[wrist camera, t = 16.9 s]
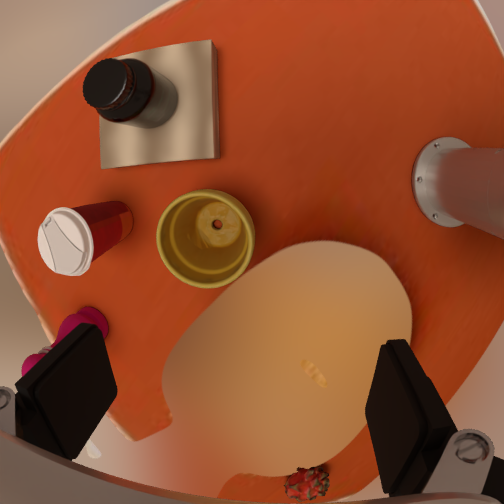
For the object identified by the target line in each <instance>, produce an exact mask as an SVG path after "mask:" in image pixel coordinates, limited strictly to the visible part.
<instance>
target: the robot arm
mask: <svg viewBox="0 0 504 504" xmlns="http://www.w3.org/2000/svg"><path fill="white" fill-rule="evenodd" d="M434 145H435V147H434ZM417 178H418V181H417ZM412 188H413V193H414V197H415V200H416V202H417V204H418V207H419V208H420V210H421V211H422V213H423V214H424V215H425V216H426V217H427V218H428V219H429V220H431V221H432V222H434V223H436V224H438V225H441V226H444V227H457V226H460V225H462V224H465V223H466V224H468V225H470V226H473V227H475V228H478V229H480V230H483V231H485V232H487V233H490V234H492V235H494V236H496V237H499V238H501V239H503V240H504V148H472V147H470V146H469V145H468V144H467V143H466V142H464V141H462V140H460V139H457V138H454V137H441V138H437V139H434V140H432V141H431V142H429V143H428V144H426V145H425V146H424V147H423V149H422V150H421V151H420V153H419V154H418V156H417V158H416V161H415V163H414V167H413V172H412ZM433 214H434V216H433ZM15 386H16V389H17V391H18V392H17V393H16V394H15V393H14V392H13V390H11V389H10V388H8V387H4V386H3V387H0V504H286V503H260V502H246V501H236V500H226V499H218V498H210V497H204V496H197V495H191V494H185V493H180V492H174V491H170V490H165V489H161V488H157V487H152V486H148V485H144V484H140V483H136V482H133V481H129V480H126V479H122V478H119V477H115V476H112V475H109V474H106V473H103V472H100V471H97V470H94V469H91V468H88V467H85V466H83V465H80V464H77V463H75V462H72V459H76V458H77V457H78V455H79V454H80V452H81V450H82V449H83V447H84V446H85V444H86V442H87V441H88V439H89V438H90V436H91V434H92V433H93V432H94V430H95V428H96V427H97V425H98V424H99V422H100V421H101V419H102V418H103V416H104V415H105V413H106V411H107V410H108V408H109V407H110V405H111V404H112V402H113V401H114V399H115V398H116V396H117V385H116V382H115V379H114V375H113V372H112V368H111V365H110V361H109V357H108V353H107V350H106V346H105V342H104V337H103V333H102V331H101V330H100V329H99V328H98V326H97V325H96V324H90V323H84V322H81V323H80V324H79V325H77V326H76V327H75V328H74V329H73V330H72V331H71V332H70V333H69V334H67V335H66V336H65V337H64V338H63V339H62V340H61V341H60V342H59V343H58V344H56V345H55V346H54V347H53V348H52V349H51V350H50V351H49V352H48V353H47V354H46V355H45V356H44V357H42V358H41V359H40V360H39V361H38V362H37V363H36V364H35V365H34V366H33V367H32V368H31V369H30V370H29V371H28V372H27V373H26V374H25V375H24V376H23V377H22V378H21V379H19V381H17V382H16V383H15ZM365 415H366V420H367V423H368V427H369V431H370V436H371V440H372V444H373V448H374V452H375V457H376V461H377V465H378V470H379V474H380V479H381V484H382V489H383V492H384V493H385V494H386V493H389V497H388V498H381V499H372V500H362V501H352V502H337V503H336V502H335V503H308V504H504V460H503V459H500V458H498V457H495V456H494V445H493V442H492V441H491V439H490V438H489V437H488V436H487V435H486V434H485V433H483V432H481V431H478V430H474V429H463V430H460V431H458V430H457V428H456V426H455V424H454V422H453V420H452V418H451V417H450V414H449V412H448V410H447V409H446V407H445V405H444V403H443V401H442V399H441V397H440V396H439V394H438V392H437V390H436V388H435V386H434V385H433V383H432V381H431V379H430V378H429V377H427V376H426V374H425V372H424V371H423V369H422V367H421V365H420V364H419V362H418V360H417V358H416V357H415V355H414V353H413V351H412V350H411V348H410V346H409V345H408V343H407V342H406V340H405V339H397V340H388V341H387V343H386V344H384V345H381V348H380V352H379V356H378V360H377V365H376V369H375V373H374V377H373V381H372V385H371V389H370V392H369V396H368V400H367V403H366V407H365Z"/></svg>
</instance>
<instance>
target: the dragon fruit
mask: <svg viewBox="0 0 504 504" xmlns="http://www.w3.org/2000/svg"><path fill="white" fill-rule="evenodd" d="M320 469H321V471H323V468H322V467H317V468H315V467H311V468H310V469H304V468H299V467H298V468H297V471H298V472H297V473H293V474H292V476H291V477H290V478H289V479H288V480H287V483H286V484H285V485H284V486H285V488H286V489H285V493H286V494H287V496H288V497H289V498H291V499H296V500H297V501H299V502H302V501H305V500H307V499H309V500H313V499H316V496H325V492H326V491H327V490H328V489H327V488H328V487H329V479H328V478H327V477H328V476H329V474H328V473H326V472H320Z"/></svg>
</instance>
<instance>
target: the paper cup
mask: <svg viewBox="0 0 504 504" xmlns="http://www.w3.org/2000/svg"><path fill="white" fill-rule="evenodd" d="M132 227H133V216H132V213H131V211H130V209H129V208H128V206H126V205H125V204H124V203H122V202H119V201H110V202H103V203H97V204H90V205H84V206H80V207H75V208H66V207H61V208H57V209H55V210H53V211H51V212H50V213H49V214H48V215H47V217H46V219H45V220H44V222H43V223H42V224H41V226H40V228H39V232H38V246H39V251H40V254H41V256H42V258H43V260H44V262H45V263H46V264H47V266H48V267H49V268H50V269H51V270H53V271H54V272H56V273H59V274H64V275H70V276H75V275H78V276H80V275H82V274H83V273H85V272H86V271H87V270H88V268H89V267H90V263H91V262H93V261H94V260H95V259H97V258H98V257H99V256H101V255H102V254H103V253H105V252H106V251H108V250H109V249H110V248H112V247H113V246H114V245H116V244H117V243H118V242H120V241H121V240H123V239H124V238H125V237H126V236H127V235H128V234H129V233H130V232H131V230H132Z"/></svg>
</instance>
